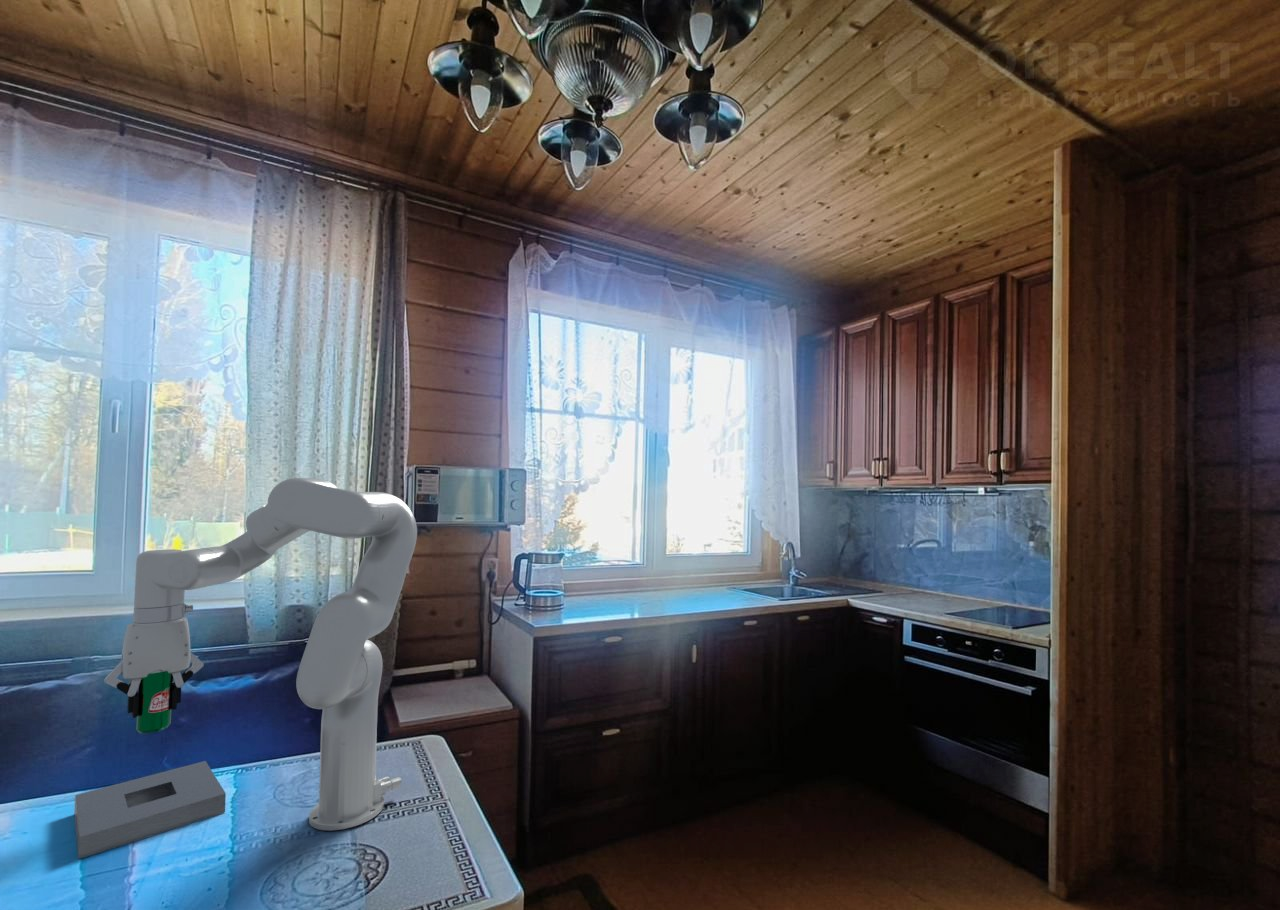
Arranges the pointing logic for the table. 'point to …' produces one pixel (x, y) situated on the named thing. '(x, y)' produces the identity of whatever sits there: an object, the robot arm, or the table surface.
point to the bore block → (145, 807)
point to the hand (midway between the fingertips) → (154, 710)
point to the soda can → (154, 702)
